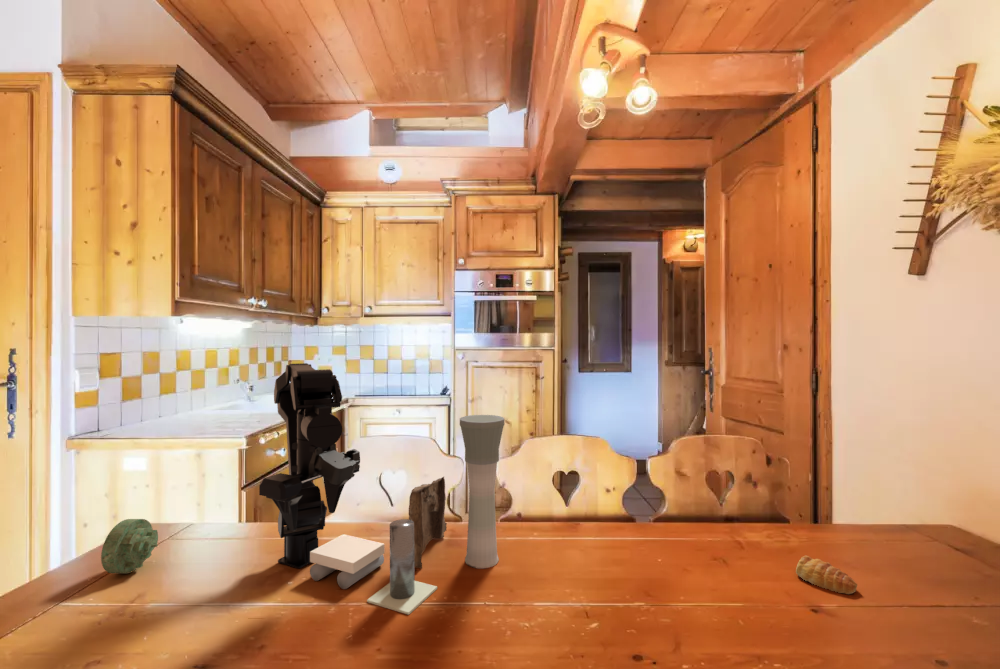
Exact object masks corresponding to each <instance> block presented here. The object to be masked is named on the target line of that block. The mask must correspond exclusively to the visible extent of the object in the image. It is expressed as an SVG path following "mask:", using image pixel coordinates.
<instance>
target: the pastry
mask: <svg viewBox="0 0 1000 669" xmlns="http://www.w3.org/2000/svg"><path fill="white" fill-rule="evenodd" d="M795 573H796V575H797V576H798V577H799V578H800V577H801V578H802V579H803V580H802V579H801V578H800V579H801V580H802V581H804V580H805V581H804V582H809V584H810V583H811V585H813V584H814V585H813V586H815V585H817V586H816V587H818V586H819V587H818V588H822V589H824V588H825V590H827V589H829V590H828V591H831V592H834V591H835V593H837V592H838V593H839V594H846V595H852V594H854V593H855V592H857V588H858V583H857V582H856V581H855V580H854V579H853V578H852V577H850V576H849V574H848V573H846V572H844V571H842V570H841V569H840V568H838V567H835V566H833V565H832V564H831V563H830V562H828V561H827V562H826V561H824V560H822V559H820V558H815V559H814V558H812V557H811V556H809V555H804V556H801V558H800V559H799V561H798V562H797V565H796V568H795ZM838 593H837V594H838Z"/></svg>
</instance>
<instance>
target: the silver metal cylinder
mask: <svg viewBox="0 0 1000 669" xmlns="http://www.w3.org/2000/svg"><path fill="white" fill-rule="evenodd" d="M415 578H416V577H415V567H414V522H413V521H412V520H409V518H408V519H407V518H403V519H397V520H394V521H391V522H390V523H389V583H390V596H391V597H392V598H394V599H406V598H409V597H411V596H412V595H413V594H414V592H415V581H416V579H415Z"/></svg>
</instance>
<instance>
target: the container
mask: <svg viewBox="0 0 1000 669" xmlns="http://www.w3.org/2000/svg"><path fill="white" fill-rule="evenodd" d="M459 426H460V429H461V430H460V431H461V433H462V434H461V435H462V440H463V444H464V450H465V452H464V462H465V463H466V465H467V477H468V478H467V479H468V487H469V488H468V489H469V492H468V497H469V498H468V520H467V521H468V522H467V540H466V554H465V555H466V556H465V557H464V561H465V562H464V563H465V564H466V565H467V566H468V567H470V568H474V569H489V568H492V567H494V566H497V564H498V563H499V555H498V544H497V543H498V542H497V524H496V523H497V522H496V498H495V497H496V496H495V495H496V494H495V487H496V480H497V479H496V478H497V467H498V462H499V461H500V445H501V439H502V437H503V436H502V435H503V430H504V426H505V417H503V416H500V415H495V414H494V415H493V414H472V415H464V416H461V417H460V418H459Z"/></svg>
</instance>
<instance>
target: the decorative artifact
mask: <svg viewBox="0 0 1000 669" xmlns="http://www.w3.org/2000/svg"><path fill="white" fill-rule="evenodd" d="M158 533H159V532H158V530H157V529H153V526H152V524H151V522H150V521H148V520H147V519H145V518H128V519H124V520H122V521H119V522H118V523H117V524H116V525H114V527H112V529H111V530H110V531H109V533H108V534H107V536H106V538H105V540H104V542H103V545H102V549H101V554H100V562H101V565H102V568H103V570H104V571H105V572H107V573H109V574H129V573H132V572H131V571H133V570H134V571H136V570H137V569H140V568H142V567H143V566H144V562H145V561H146V559H149V558H150V557H151V556H152V551H153V550H155V548H156V547H158V541H159V534H158ZM136 568H137V569H136ZM135 569H136V570H135ZM134 571H133V572H134Z"/></svg>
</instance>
